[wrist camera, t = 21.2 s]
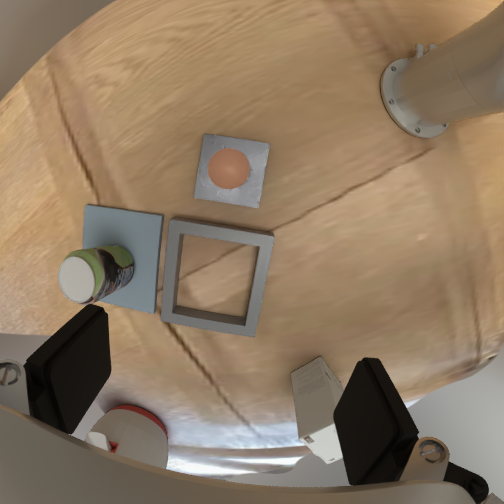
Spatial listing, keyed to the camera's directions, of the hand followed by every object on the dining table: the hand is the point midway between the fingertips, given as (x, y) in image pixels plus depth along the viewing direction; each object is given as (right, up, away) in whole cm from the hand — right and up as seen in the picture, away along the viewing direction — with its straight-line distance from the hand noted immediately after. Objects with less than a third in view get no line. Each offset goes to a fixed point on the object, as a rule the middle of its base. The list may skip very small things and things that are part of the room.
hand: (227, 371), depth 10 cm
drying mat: (-18, +3, +29) cm, 34 cm away
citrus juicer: (-21, -29, +37) cm, 51 cm away
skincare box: (+11, -16, +34) cm, 39 cm away
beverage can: (-18, +3, +28) cm, 33 cm away
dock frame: (-4, +1, +30) cm, 30 cm away
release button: (-2, +14, +24) cm, 28 cm away
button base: (-2, +14, +26) cm, 30 cm away
